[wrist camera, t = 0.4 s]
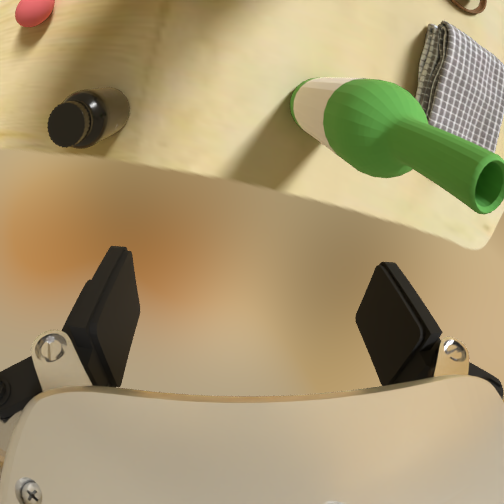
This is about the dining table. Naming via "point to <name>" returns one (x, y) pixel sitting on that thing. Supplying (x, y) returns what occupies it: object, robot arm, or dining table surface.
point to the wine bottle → (395, 138)
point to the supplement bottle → (88, 117)
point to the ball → (33, 12)
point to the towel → (461, 86)
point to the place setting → (477, 10)
